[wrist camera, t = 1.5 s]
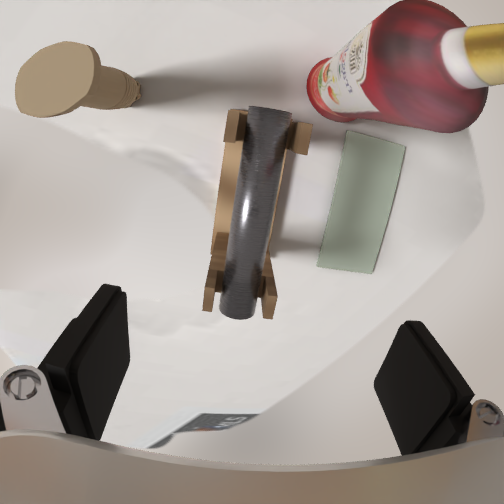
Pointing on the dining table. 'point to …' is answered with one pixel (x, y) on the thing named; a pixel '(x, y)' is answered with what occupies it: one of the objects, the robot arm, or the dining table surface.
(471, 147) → the dining table surface
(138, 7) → the dining table surface
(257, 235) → the rail
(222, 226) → the hook stand
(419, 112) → the liquor
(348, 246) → the mat
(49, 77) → the handle
